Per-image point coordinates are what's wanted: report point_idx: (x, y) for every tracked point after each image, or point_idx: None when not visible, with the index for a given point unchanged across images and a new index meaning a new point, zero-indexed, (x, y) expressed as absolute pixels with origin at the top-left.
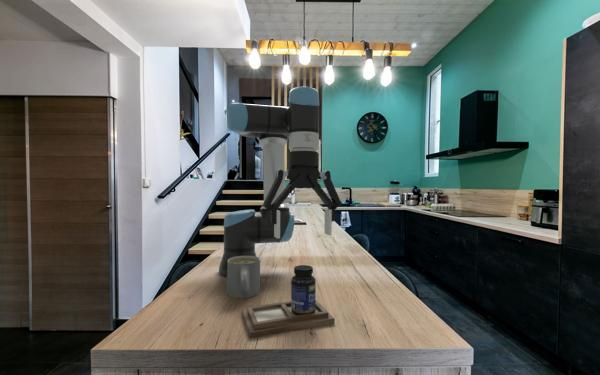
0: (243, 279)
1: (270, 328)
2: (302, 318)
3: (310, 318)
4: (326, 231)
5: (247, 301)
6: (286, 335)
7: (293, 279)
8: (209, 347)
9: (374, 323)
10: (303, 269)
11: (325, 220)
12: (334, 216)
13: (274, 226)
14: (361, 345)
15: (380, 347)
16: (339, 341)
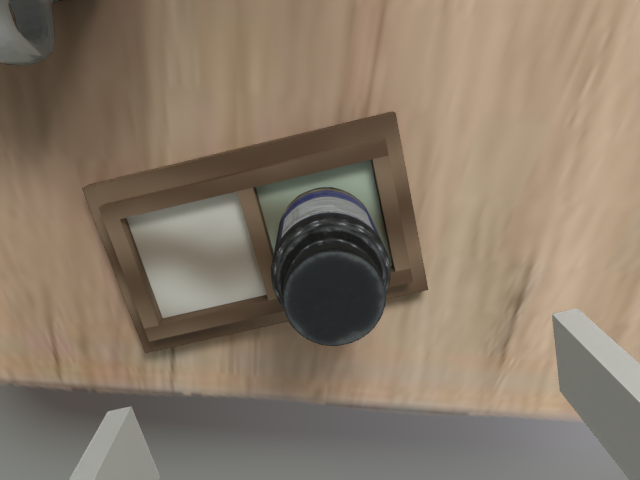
0: (8, 61)
1: (206, 335)
2: None
3: None
4: (568, 362)
5: (82, 49)
6: (258, 337)
7: (280, 298)
8: (43, 377)
9: (556, 292)
10: (329, 337)
11: (622, 402)
12: None
13: (76, 477)
14: (460, 399)
15: (506, 411)
16: (407, 378)
